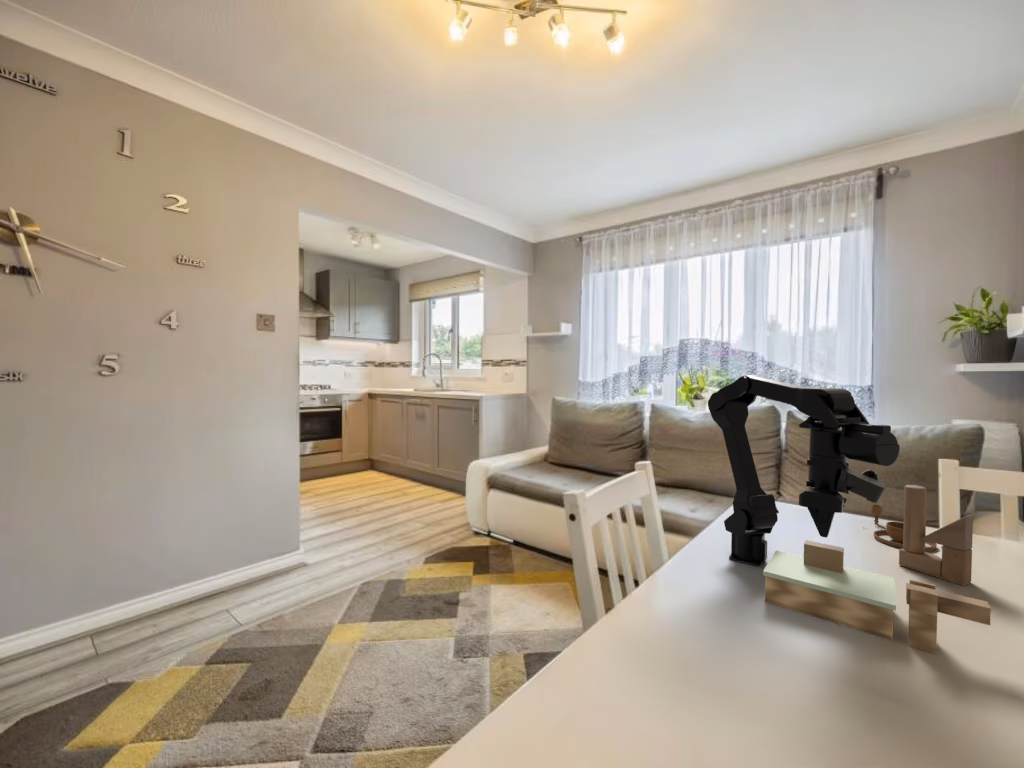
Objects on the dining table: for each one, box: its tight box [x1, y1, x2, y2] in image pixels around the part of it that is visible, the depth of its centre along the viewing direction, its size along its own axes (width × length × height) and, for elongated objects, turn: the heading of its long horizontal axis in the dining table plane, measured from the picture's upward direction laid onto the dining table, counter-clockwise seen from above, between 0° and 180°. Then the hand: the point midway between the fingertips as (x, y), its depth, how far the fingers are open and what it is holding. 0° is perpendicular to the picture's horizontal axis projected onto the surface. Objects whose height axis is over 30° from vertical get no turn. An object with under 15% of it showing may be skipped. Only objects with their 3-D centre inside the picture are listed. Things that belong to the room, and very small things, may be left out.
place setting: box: [863, 504, 942, 553], centre depth 114 cm, size 18×20×6 cm
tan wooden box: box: [764, 576, 938, 655], centre depth 78 cm, size 23×12×9 cm, turn 49°
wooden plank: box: [905, 582, 992, 626], centre depth 67 cm, size 9×2×2 cm, turn 49°
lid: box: [762, 539, 897, 612], centre depth 80 cm, size 19×13×5 cm
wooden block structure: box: [898, 484, 974, 586], centre depth 93 cm, size 4×11×18 cm, turn 26°
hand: (824, 535), depth 83 cm, fingers closed
